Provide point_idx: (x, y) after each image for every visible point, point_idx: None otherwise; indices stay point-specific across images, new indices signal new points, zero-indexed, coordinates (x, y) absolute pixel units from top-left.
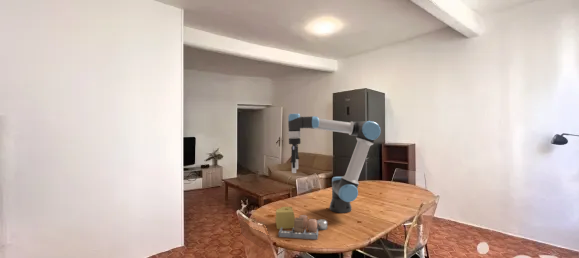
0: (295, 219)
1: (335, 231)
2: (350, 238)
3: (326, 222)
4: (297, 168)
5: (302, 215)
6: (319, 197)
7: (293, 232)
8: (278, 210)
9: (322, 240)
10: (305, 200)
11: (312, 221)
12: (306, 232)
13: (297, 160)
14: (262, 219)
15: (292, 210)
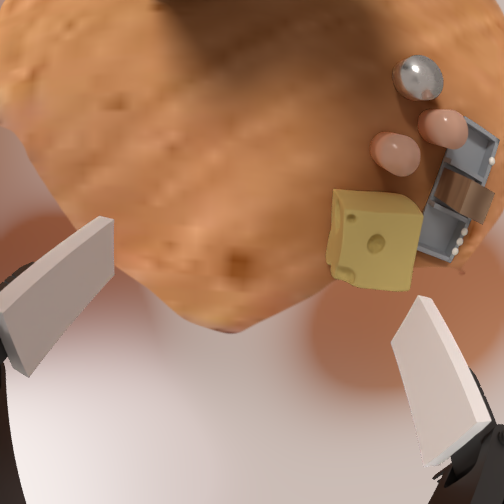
0: (476, 217)
1: (444, 47)
2: (491, 34)
3: (436, 65)
4: (109, 236)
5: (389, 156)
6: (29, 52)
7: (445, 206)
8: (389, 282)
9: (497, 124)
10: (53, 106)
11: (462, 134)
12: (448, 157)
13: (21, 311)
14: (279, 299)
15: (404, 217)
